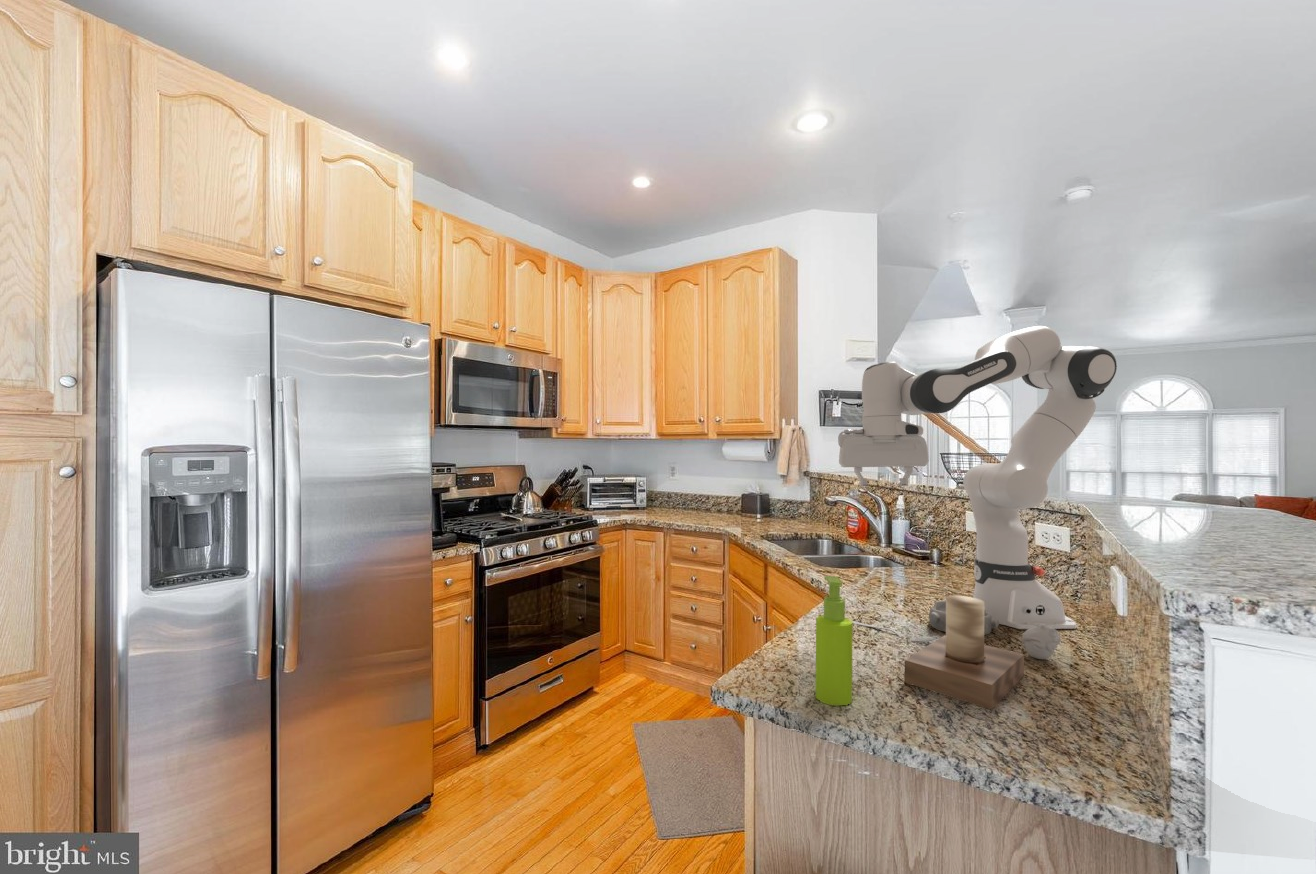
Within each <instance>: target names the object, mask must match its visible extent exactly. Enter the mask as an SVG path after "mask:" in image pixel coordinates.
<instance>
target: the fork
mask: <svg viewBox="0 0 1316 874" xmlns="http://www.w3.org/2000/svg"><path fill="white" fill-rule="evenodd" d="M851 621H852V622H853V624H854V625H858V626H862V627H867V628H872V629H880V630H886V631H890V632H893V633H894V634H895V635H896V636H898V637H899V638H902V637H901V636H903V635H904V634H902V633H901V632H899V631H896V630H894V629H892V628H887V627H882V626H877V625H871V624H867V623H864V622H863V623H862V622H858V621H854V620H851ZM903 637H904V636H903ZM936 640H938V638H937V637H931V638H927V637H926V638H925V637H924V638H923V637H922V638H920V637H912V638H910V639H908V641H909V642H914V643H917V642H919V643H920V642H932V641H936Z"/></svg>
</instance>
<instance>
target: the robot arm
mask: <svg viewBox="0 0 1316 874" xmlns="http://www.w3.org/2000/svg"><path fill="white" fill-rule="evenodd" d="M974 356H975V357H974V360H973V361H970V362H968V363H966V364H964V365H961V366H958V367H956V368H932V369H929V370H927V371H925V372H922V373H919V374H917V373H913V372H911V371H909V370H906V369H905V368H903V367H901V366H900V365H899V364H898V363H897V362H896V361H893V360H892V361H891V360H889V361H884V362H879V363H876V364H872V365H870V366H868V367H867V368H866V369H864V370H863V375H862V381H861V382H862V383H861V400H862V404H863V405H862V406H863V412H862V415H861V416H862V421H861V422H862V428H861V429H860V428H859V429H858V428H856V429H844V431H843V430H842V431H841V432H840V433H839V434H838V436H837V439H838V441H837V443H838V447H839V455H838V457H839V458H838V462H839V465H840V466H841V467H842V468H853V469H854V470H853V471H854V474H855V475H856V476H857V478H858V480H859V481H858V483H859V486H860V487H867V486H868V478H864V476H863V475H862V472H863V468H889V467H893V468H894V467H895V468H896V467H901V468H902V467H903V471H904V472H905V473H904V475H903V476H902V477H899V486H901V487H902V486H904V487H907V486H909V479H910V477H911V476H912V475H911V474H912V473H913V467H926V466H928V465H927V464H928V463H929V449H928V445H927V440H926V439H925V438H924V437H923V436H922V435H924V427H923V426H921V425H917V424H913V423H910V422H907V421H903V420H902V414H904V415H908V416H920V415H926V414H927V415H928V414H944V413H948V412H949V411H951V410H952V409H954V408H955V407H956V406H957V405H959V404H960V402H961V401H962V400H963V399H964V398H965V397H966V396H967V395H969V394H970V393H973V392H974V391H976V390H979V389H981V388H984V387H986V386H987V385H991V384H992V385H997V384H1002V383H1006V382H1010V381H1014V380H1016V379H1020V378H1021V379H1022V380H1023V381H1024V383H1025V384H1027V385H1028V386H1029V387H1030V386H1031V387H1033V388H1036V389H1040V390H1048V391H1047V396H1046V399H1045V400H1044V401H1043V403H1042V404H1041V405H1040V406H1038V408H1037V409H1035V411H1034V412H1033V413H1032V414H1031V415H1030V416H1029V417H1028V419H1027V420H1026V421H1025V423H1023V425H1022V426H1021V427H1020V428H1019V429H1018V430H1017V431H1016V432H1015V434H1014V435H1013V436H1012V437H1011V446H1010V447H1009V450H1008V453H1007V455H1006V456H1005V458H1004V459H1003V460H1001V461H1000V462H999V463H996V462H995V463H992V462H991V463H990V462H988V463H987V462H986V463H981V464H978V465H975V466H973V467H971V468H969V469H968V470H967V472H966V473H965V474H964V477H963V481H962V482H963V483H962V484H963V485H962V486H963V488H964V491H965V493H966V494H967V496H968V497H969V501H970V505H971V509H972V514H973V517H974V522H975V529H976V557H975V559H974V567H973V568H974V569H973V572H974V573H973V575H974V581H975V584H974V585H975V586H974V592H973V597H972V598H977V599H980V600H982V601H984V608H985V609H987V610H988V612H989V613H990V614H991V615H992V618H993V619H998V621H999V625H1003V626H1007V627H1011V628H1013V629H1018V630H1028V629H1029V628H1031V627H1034V626H1036V625H1037V624H1039V623H1043V624H1046V625H1049V626H1051V627H1052V628H1054V629H1055V630H1059V629H1061V630H1063V629H1065V630H1066V629H1077V623H1076V621H1075V620H1073V619H1072V618H1070V617H1069V616H1066V614H1065V607H1064V604H1063V601H1062V600H1061V598H1060V597H1059V596H1058V595H1056V593H1054V592H1053V591H1051V590H1050V589H1049V588H1047V587H1046V586H1045V585H1043V583H1041V582H1040V581H1038V580H1037V578H1036V576H1038V577H1044V575H1045V574H1046V570H1045V569H1044V568H1042V567H1039V566H1033V565H1031V564H1029V559H1028V557H1029V555H1028V553H1029V546H1028V545H1029V535H1028V532H1027V529H1026V527H1025V526H1024V525H1023V523H1022V521H1021V520H1022V519H1021V518H1020V514H1019V510H1025V509H1031V508H1035V507H1037V506H1039V505H1041V504H1042V503H1043V502H1044V500H1045V499H1046V497H1047V494H1048V488H1049V487H1048V478H1049V477H1050V474H1051V472H1052V470H1053V468H1054V466H1055V465H1056V464H1057V462H1058V461H1059V459H1060V458H1061V457H1062V456H1063V454H1065V452H1066V451H1068V450H1069V448H1070V447H1071V445H1073V443H1074V442H1075V441H1076V440H1077V439H1078V437H1079V436H1080V435H1081V434H1082V432H1083V431H1084V430H1085V428H1086V427H1087V426H1088V424H1089V423H1090V421H1091V419H1092V417H1093V415H1094V414H1095V412H1096V408H1097V406H1096V404H1097V403H1096V402H1095V400H1094V398H1097V397H1099V396H1100V395H1102V394H1103V393H1104V392H1105V390H1106V388H1107V387H1108V386H1110V384H1111V382H1113V379H1114V377H1115V376H1116V373H1117V367H1118V366H1117V360H1116V357H1115V355H1114V354H1113V353H1112V352H1111V351H1109V350H1108V349H1105V348H1103V347H1098V346H1093V345H1091V346H1089V345H1088V346H1080V345H1079V346H1078V345H1067V346H1065V345H1064V346H1062V345H1061V340H1060V337H1059V335H1058V334H1057V333H1056V331H1055V330H1053V329H1052V328H1050V327H1047V326H1044V325H1043V326H1042V325H1036V326H1031V327H1026V328H1022V329H1019V330H1015V331H1012V332H1010V333H1007V334H1004V335H1002V336H999V337H997V338H995V339H993V340H991V341H989V342H987V343H986V344H984V345H982V346H981V347H980V348H978V349H977V351H976V354H975V355H974Z"/></svg>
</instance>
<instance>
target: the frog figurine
mask: <svg viewBox="0 0 1316 874" xmlns="http://www.w3.org/2000/svg"><path fill="white" fill-rule="evenodd" d="M1021 643H1022V644H1023V645H1024V648H1025V651H1026V652H1027V653H1028V655H1030V656H1031V657H1033V658H1034V659H1036V660H1037V659H1038V660H1047V659H1049V658H1051V657H1052V656H1053V655H1054V654H1055V649H1057V648H1058V645H1059V644H1060V643H1061V634H1060V632H1059V631H1058V630H1057V629H1054V628H1052V627H1051V626H1049V625H1046V624H1043V623H1039V624H1037V625H1036V626H1034V627H1031V628H1029V629H1025V631H1024V632H1023V633H1022V636H1021Z"/></svg>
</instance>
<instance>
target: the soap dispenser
mask: <svg viewBox="0 0 1316 874" xmlns="http://www.w3.org/2000/svg"><path fill="white" fill-rule="evenodd" d="M823 578H824V580H826V581H827V582H828V585H829V586H828V587H829V588H828V596H826V597H824V598H823V615H818V616H817V617H815V684H814V685H815V687H814V688H815V695H816V696H815V698H816V699H817V700H818V701H819V700H820V701H819V702H821V703H823V704H825V703H826V705H828V704H829V705H828V706H833V705H846V706H849V705H850V704H851V703H853V628H854V627H853V626H854V625H853V624H854V623H853V622H852V621H853V620H851V619H850V618H847V617H846V614H845V613H846V611H845V610H846V601H845V599H844V598H842V597H841V596H840V595H841V592H840V589H841V587H842V586H843V582H842V580H841V579H840V577H838V576H831V575H830V576H828V575H824V577H823ZM848 704H849V705H848Z"/></svg>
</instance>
